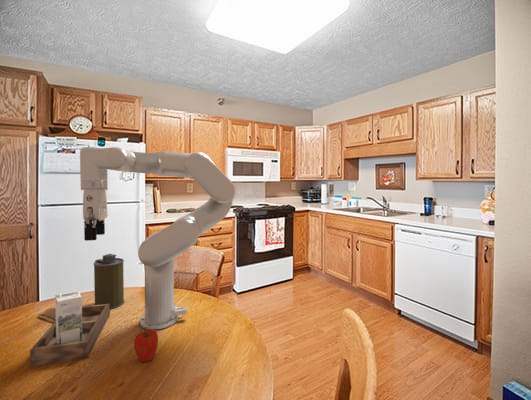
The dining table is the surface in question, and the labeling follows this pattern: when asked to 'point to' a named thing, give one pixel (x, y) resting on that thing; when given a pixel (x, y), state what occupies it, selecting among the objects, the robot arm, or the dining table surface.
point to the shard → (49, 315)
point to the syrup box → (68, 317)
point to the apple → (146, 345)
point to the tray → (54, 353)
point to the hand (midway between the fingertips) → (95, 237)
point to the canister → (109, 281)
